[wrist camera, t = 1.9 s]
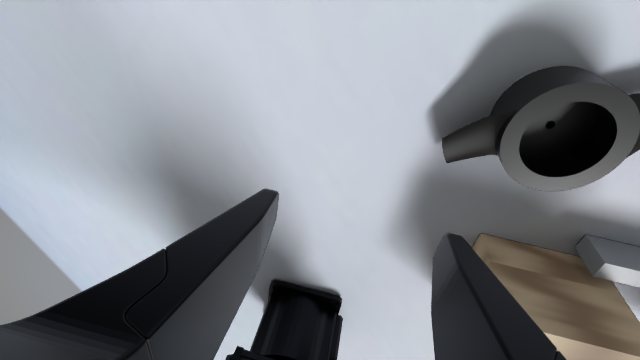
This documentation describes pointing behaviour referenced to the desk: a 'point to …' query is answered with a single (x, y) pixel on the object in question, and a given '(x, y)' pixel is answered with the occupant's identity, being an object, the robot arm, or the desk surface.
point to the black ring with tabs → (554, 129)
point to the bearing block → (564, 300)
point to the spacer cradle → (611, 259)
